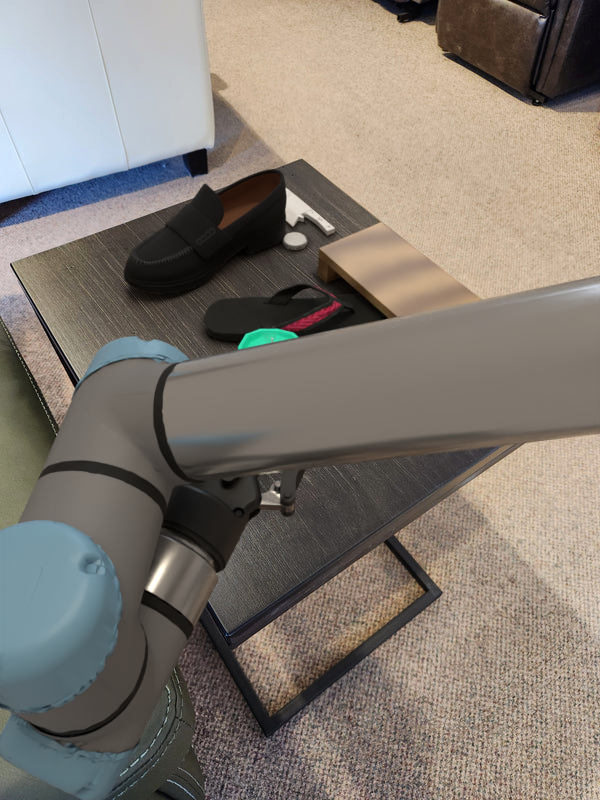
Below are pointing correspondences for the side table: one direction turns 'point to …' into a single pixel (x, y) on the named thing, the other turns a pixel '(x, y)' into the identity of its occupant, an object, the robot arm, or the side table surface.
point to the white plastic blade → (304, 213)
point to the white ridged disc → (295, 241)
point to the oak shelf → (390, 273)
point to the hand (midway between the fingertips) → (294, 342)
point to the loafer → (210, 234)
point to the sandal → (288, 313)
